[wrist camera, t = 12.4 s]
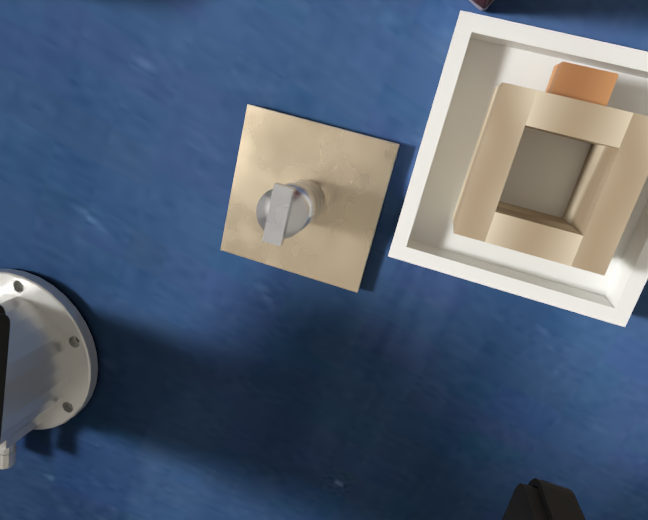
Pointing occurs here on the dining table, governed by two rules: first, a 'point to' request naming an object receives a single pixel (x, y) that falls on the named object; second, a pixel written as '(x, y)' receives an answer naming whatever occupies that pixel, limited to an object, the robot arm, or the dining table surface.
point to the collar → (593, 182)
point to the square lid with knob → (307, 196)
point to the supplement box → (481, 4)
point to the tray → (520, 168)
